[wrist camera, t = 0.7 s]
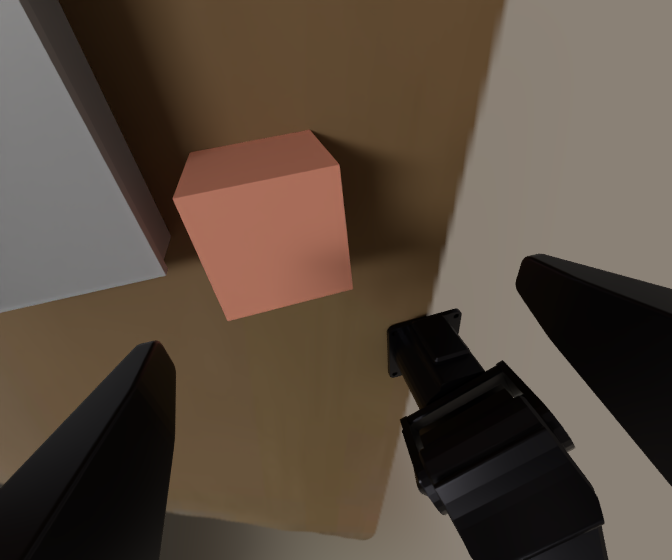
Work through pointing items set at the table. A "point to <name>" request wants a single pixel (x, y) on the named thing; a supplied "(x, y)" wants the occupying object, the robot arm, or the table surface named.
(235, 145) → the red cube
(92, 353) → the table surface
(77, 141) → the grey box
